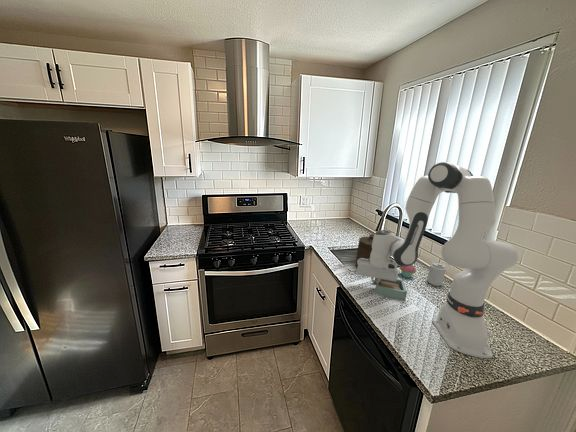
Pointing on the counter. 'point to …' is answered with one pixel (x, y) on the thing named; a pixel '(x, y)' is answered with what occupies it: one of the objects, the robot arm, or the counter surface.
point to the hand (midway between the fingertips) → (374, 284)
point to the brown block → (388, 285)
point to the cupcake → (407, 271)
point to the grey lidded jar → (436, 273)
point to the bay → (392, 290)
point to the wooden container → (364, 248)
